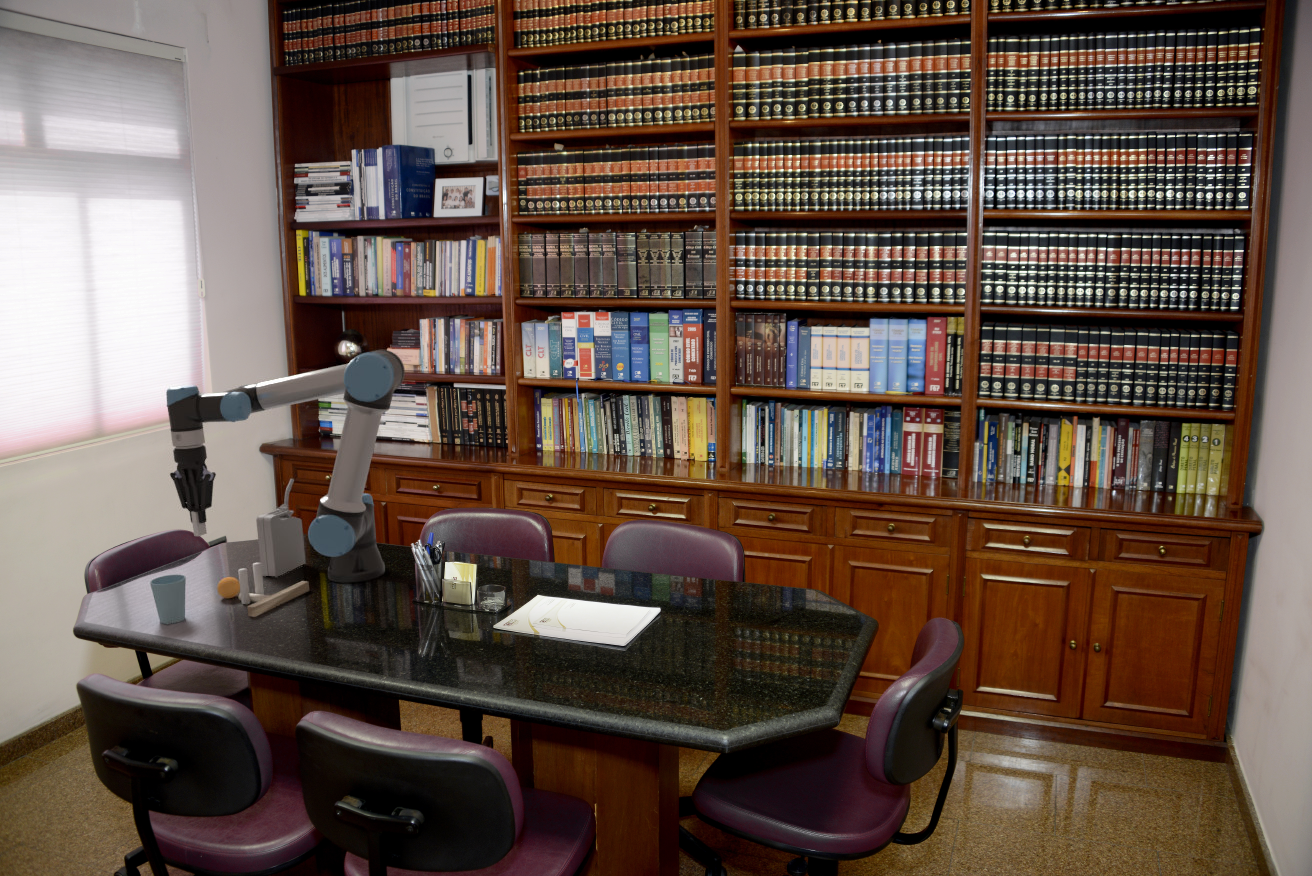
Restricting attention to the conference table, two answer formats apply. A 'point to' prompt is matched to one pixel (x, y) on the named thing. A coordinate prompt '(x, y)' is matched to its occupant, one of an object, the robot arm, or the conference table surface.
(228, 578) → the ball
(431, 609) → the conference table surface
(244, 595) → the pin
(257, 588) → the pin
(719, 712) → the conference table surface
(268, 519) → the fuel canister
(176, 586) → the cup
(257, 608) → the beige wooden bar
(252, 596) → the front pin
